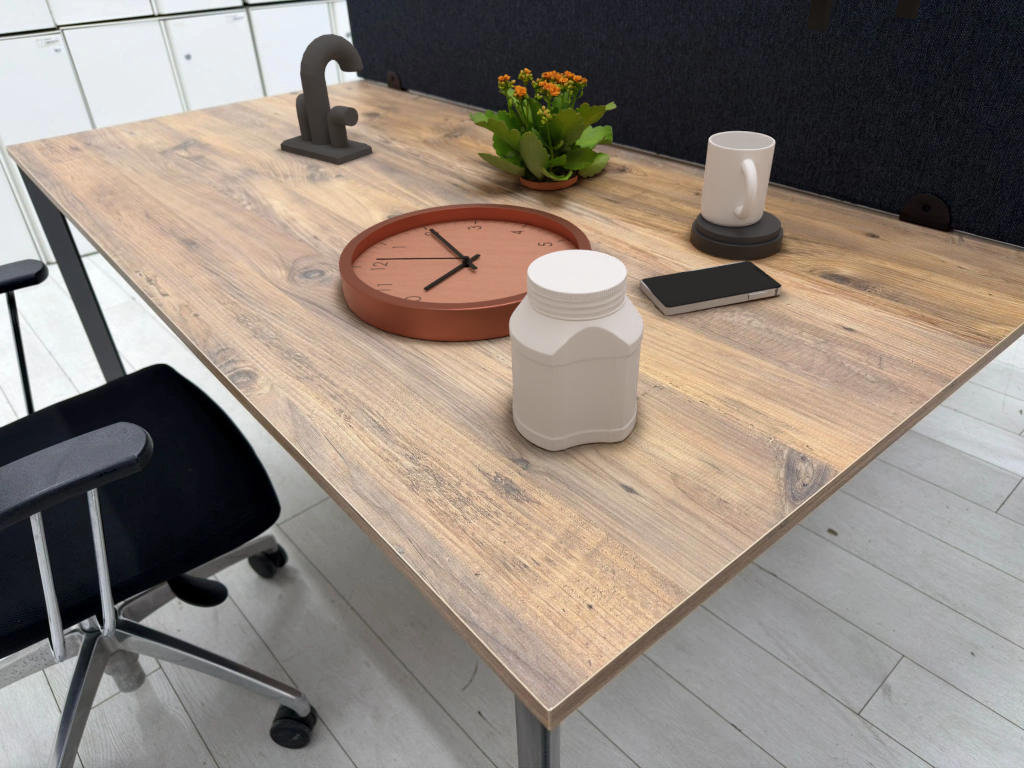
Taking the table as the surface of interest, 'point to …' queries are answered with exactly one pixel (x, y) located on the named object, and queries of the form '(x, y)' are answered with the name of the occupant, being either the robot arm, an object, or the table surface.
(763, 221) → the stand
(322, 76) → the faucet
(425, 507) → the table surface
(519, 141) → the potted flower
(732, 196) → the mug
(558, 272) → the jar
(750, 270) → the smartphone
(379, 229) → the clock
